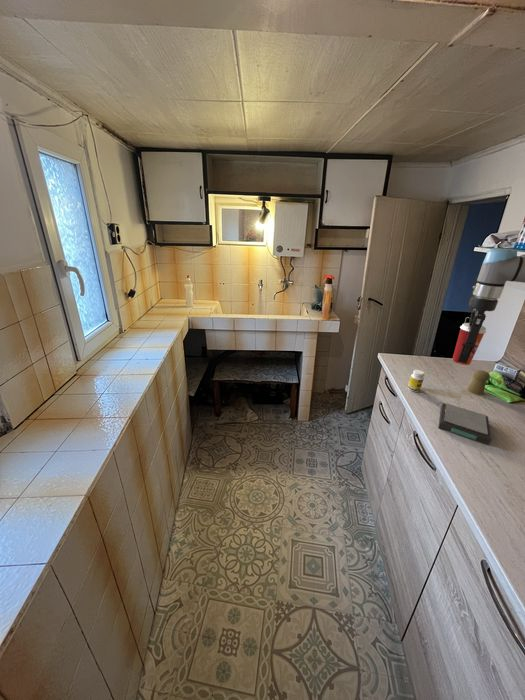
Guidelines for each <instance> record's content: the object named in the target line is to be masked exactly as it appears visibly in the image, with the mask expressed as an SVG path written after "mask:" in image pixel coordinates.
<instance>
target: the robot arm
mask: <svg viewBox="0 0 525 700" xmlns="http://www.w3.org/2000/svg"><path fill="white" fill-rule="evenodd" d="M507 282H513V283H514V282H516V283H525V254H520V255H518V250H517V249H515V248H514V249H513V248H501V247H494V248H490V249H489V250H487V252H486V255H485V257H484V259H483V262H482V265H481V266H480V271H479V274H478V277H477V278H476V283H475V285H473V286H472V287H471V288H472V289H473V291H472V295H471V296H470V298H469V302H468V308H470V309H473V311H471V313H470V318H469V322H468V323H470V324H469V326H470V330H469V333H468V335H467V338H466V341H465V343H464V344H463V343H462V345H463V348H462V350H461V353H460V356H459V359H458V362H462V363H466V364H467V361H468V358H469V356H470V353H471V351H472V348H473V347H474V344H475V342H476V339H477V336H478V333H479V331H480V328H481V327H482V326H483V323H484V322H485V320H486V318H487V314H486V313H485V312H494V311H495V310H496V309H497V305H498V303H499V299H500V298H501V296H502V293H503V291H504V289H505V285H506V283H507Z"/></svg>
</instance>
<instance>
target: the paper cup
mask: <svg viewBox="0 0 525 700" xmlns="http://www.w3.org/2000/svg"><path fill="white" fill-rule="evenodd" d="M469 324H470V323H469V322H464V323H462V325H460V326H459V328H460V329H459V333H458V337H457V341H456V343H455V347H454V351H453V355H452V361H453V363H456V364H459V365H463V366H469V365H470V364H471V363H472V361H473V358H474V356H475V354H476V353H477V350H478V348H479V346H480V344H481V341H482V339H483V338H484V335H485V334H486V333H487V331H486V327H485V326H483V325H482V327H481V328H480V331H479V333H478V336H477V339H476V342H475V344H474V347H473V348H472V351H471V353H470V356H469V358H468V361H467V364H466V363H462V362H458V359H459V356H460V353H461V350H462V348H463V345H462V343H463V344H464V343H465V341H466V338H467V335H468V333H469V330H470V326H469Z"/></svg>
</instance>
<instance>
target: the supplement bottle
mask: <svg viewBox="0 0 525 700" xmlns="http://www.w3.org/2000/svg"><path fill="white" fill-rule="evenodd" d="M424 379H425V372H424V371H423V370H420V369H414V370H413V372H412V374H411V375H410V378H409V381H408V385H407V389H408V390H409V391H411V392H414V393H419V392H420V391H421V389H422V386H423V381H424Z"/></svg>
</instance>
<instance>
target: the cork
mask: <svg viewBox="0 0 525 700" xmlns="http://www.w3.org/2000/svg"><path fill="white" fill-rule="evenodd" d="M490 378H491V374H490V373H489V372H488V371H486V370H481V369H477V370H475V371H474V373H473V379H472V380H471V382H470V384H469V386H468V387H467V388H466V390H467V391H468V392H469V393H471V394H474V395H477V396H483V395H484V393H485V388H486V384H487V382H488V381H489V380H490Z"/></svg>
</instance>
